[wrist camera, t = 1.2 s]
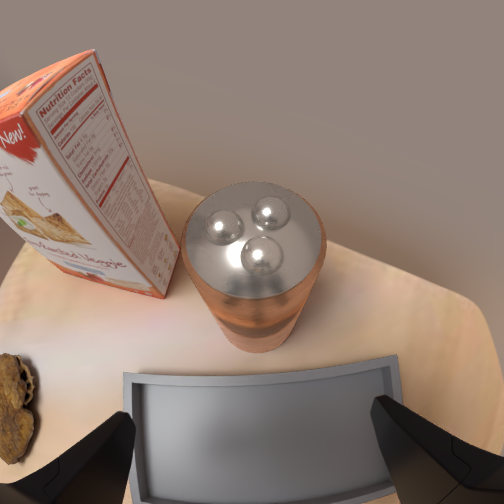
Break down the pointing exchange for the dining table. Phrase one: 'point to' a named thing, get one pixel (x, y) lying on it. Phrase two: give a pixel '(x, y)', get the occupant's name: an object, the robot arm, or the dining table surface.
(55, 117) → the cracker box
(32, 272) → the dining table surface
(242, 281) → the copper cylinder
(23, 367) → the decorative rock
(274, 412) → the gray tray
